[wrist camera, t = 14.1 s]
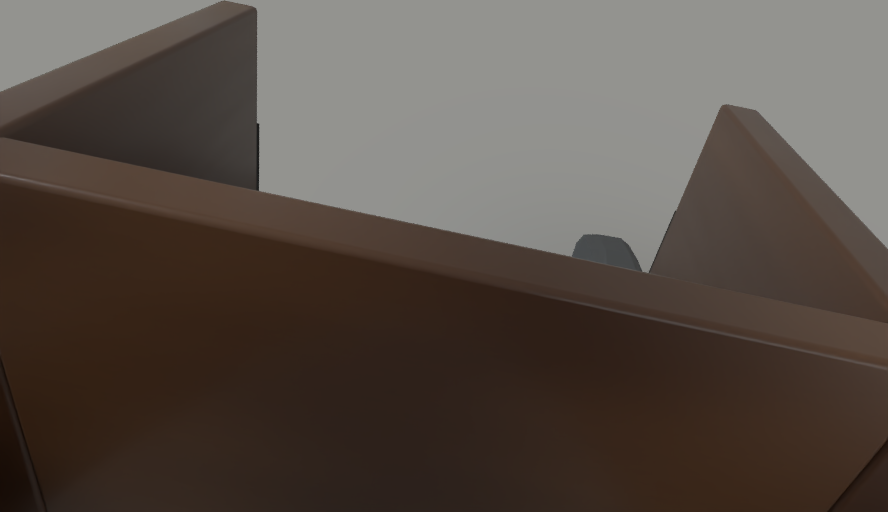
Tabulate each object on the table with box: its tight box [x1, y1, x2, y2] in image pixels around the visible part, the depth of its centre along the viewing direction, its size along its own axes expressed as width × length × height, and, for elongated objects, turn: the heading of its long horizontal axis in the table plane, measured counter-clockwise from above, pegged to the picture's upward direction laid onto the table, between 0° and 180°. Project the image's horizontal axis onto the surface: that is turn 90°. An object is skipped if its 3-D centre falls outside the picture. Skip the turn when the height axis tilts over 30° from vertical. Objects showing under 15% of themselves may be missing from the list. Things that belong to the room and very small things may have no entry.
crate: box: [0, 1, 888, 512], centre depth 10 cm, size 9×6×10 cm
